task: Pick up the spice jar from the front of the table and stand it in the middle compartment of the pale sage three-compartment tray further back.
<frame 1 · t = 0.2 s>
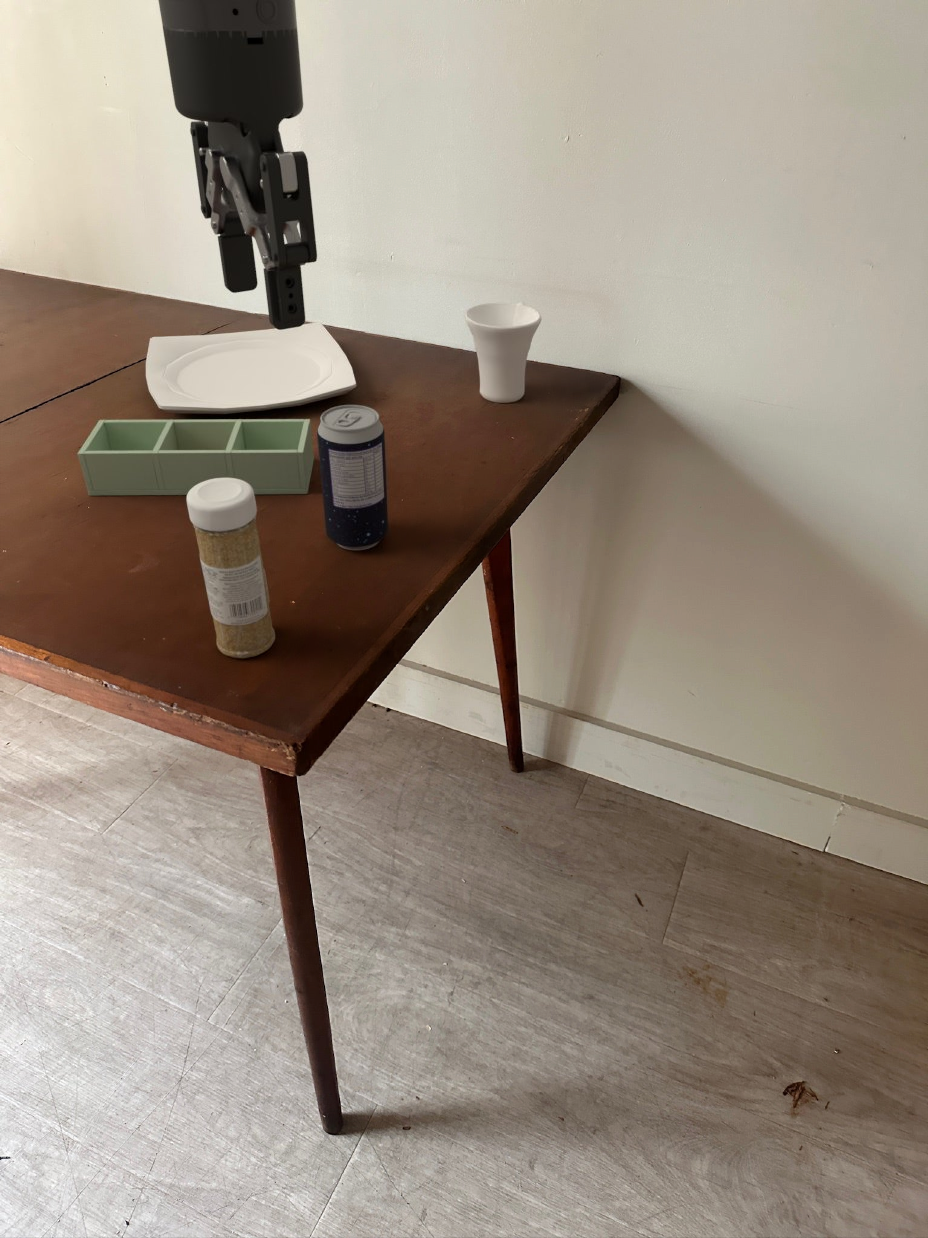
hand: (264, 307, 59), 23 cm above the table, tool pointing down, fingers open, 8 cm apart
spice jar: (246, 644, 68), on the table
plate: (251, 381, 108), on the table
beverage can: (357, 539, 80), on the table
cup: (500, 394, 107), on the table
tray: (206, 476, 88), on the table
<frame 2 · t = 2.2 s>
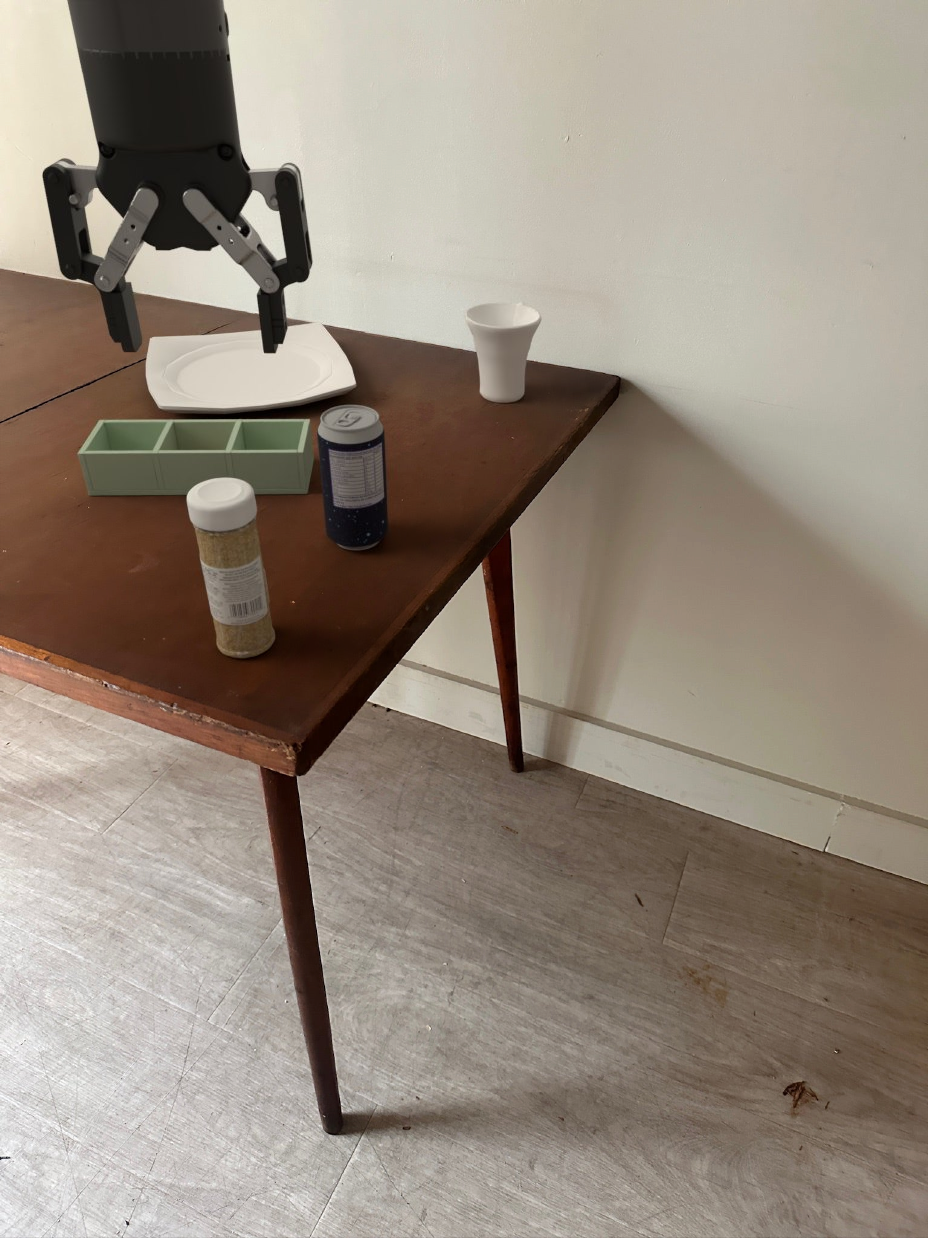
hand: (203, 348, 54), 23 cm above the table, tool pointing down, fingers open, 8 cm apart
nothing on the table moved.
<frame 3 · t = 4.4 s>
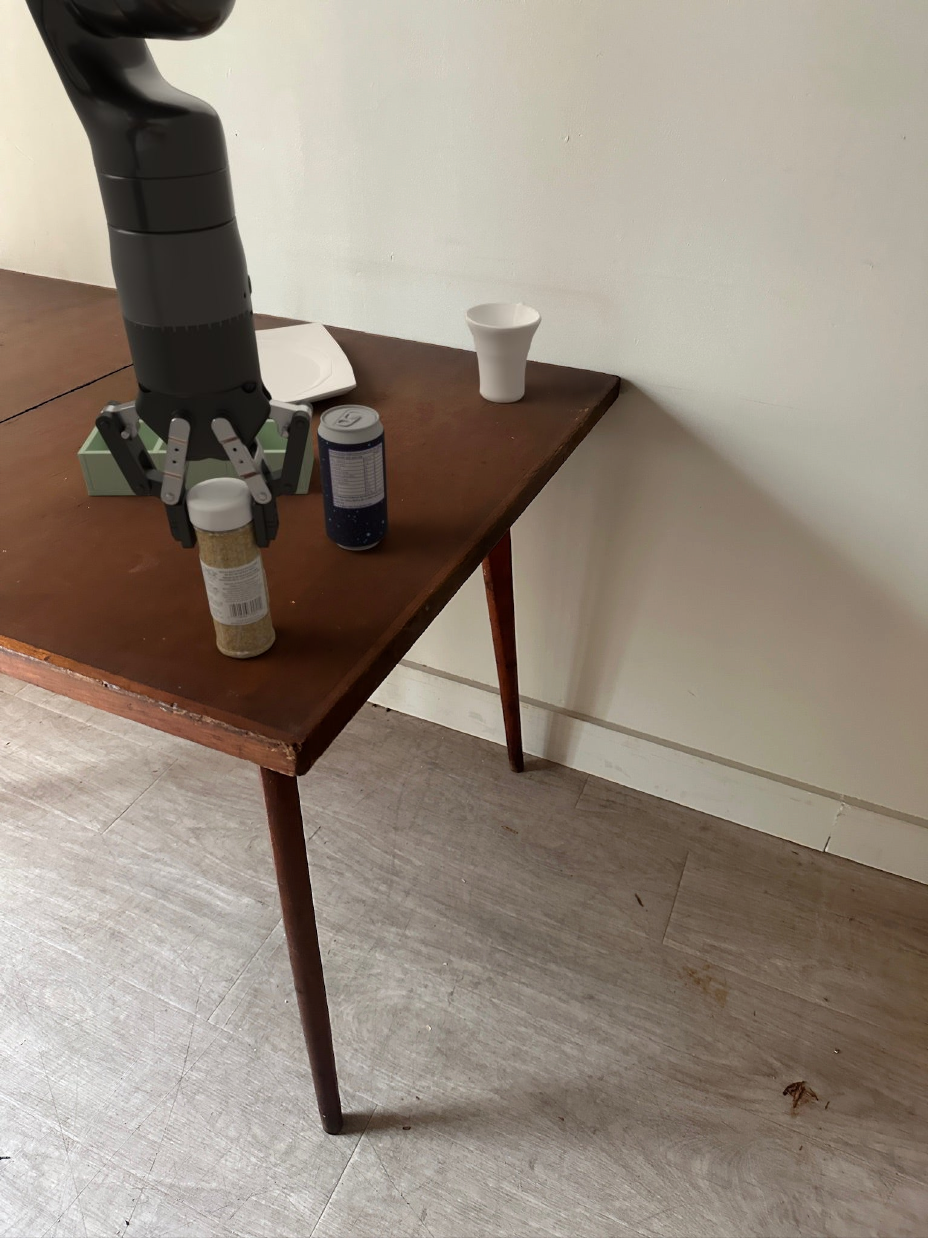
hand: (228, 541, 62), 9 cm above the table, tool pointing down, fingers closed on spice jar, 4 cm apart
spice jar: (246, 644, 68), on the table, touching gripper
everything else where it was.
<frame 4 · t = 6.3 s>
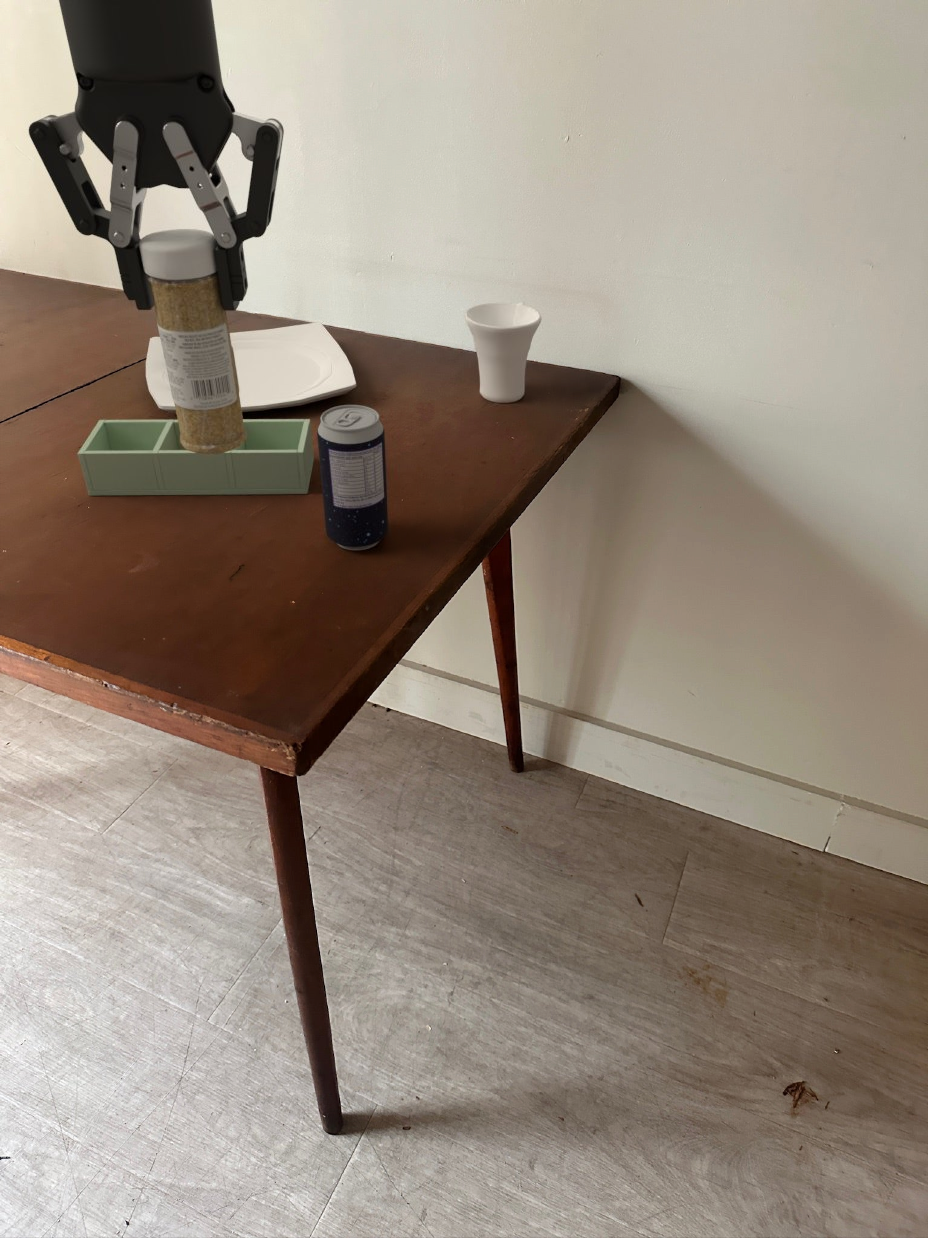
hand: (190, 305, 54), 25 cm above the table, tool pointing down, fingers closed on spice jar, 4 cm apart
spice jar: (214, 444, 60), point 16 cm above the table, touching gripper
everything else where it was.
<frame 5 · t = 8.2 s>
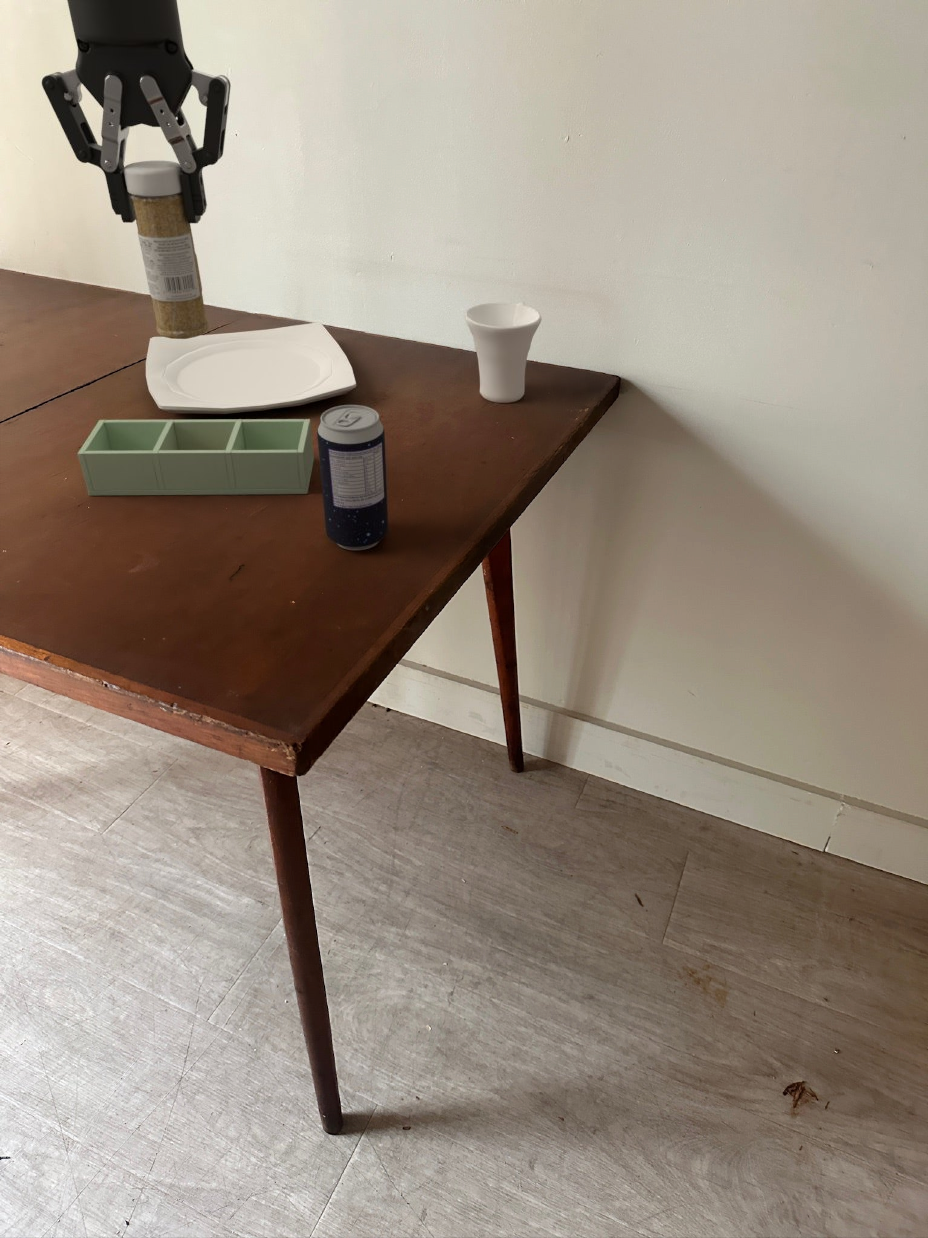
hand: (162, 219, 71), 25 cm above the table, tool pointing down, fingers closed on spice jar, 4 cm apart
spice jar: (183, 334, 77), point 16 cm above the table, touching gripper
everything else where it was.
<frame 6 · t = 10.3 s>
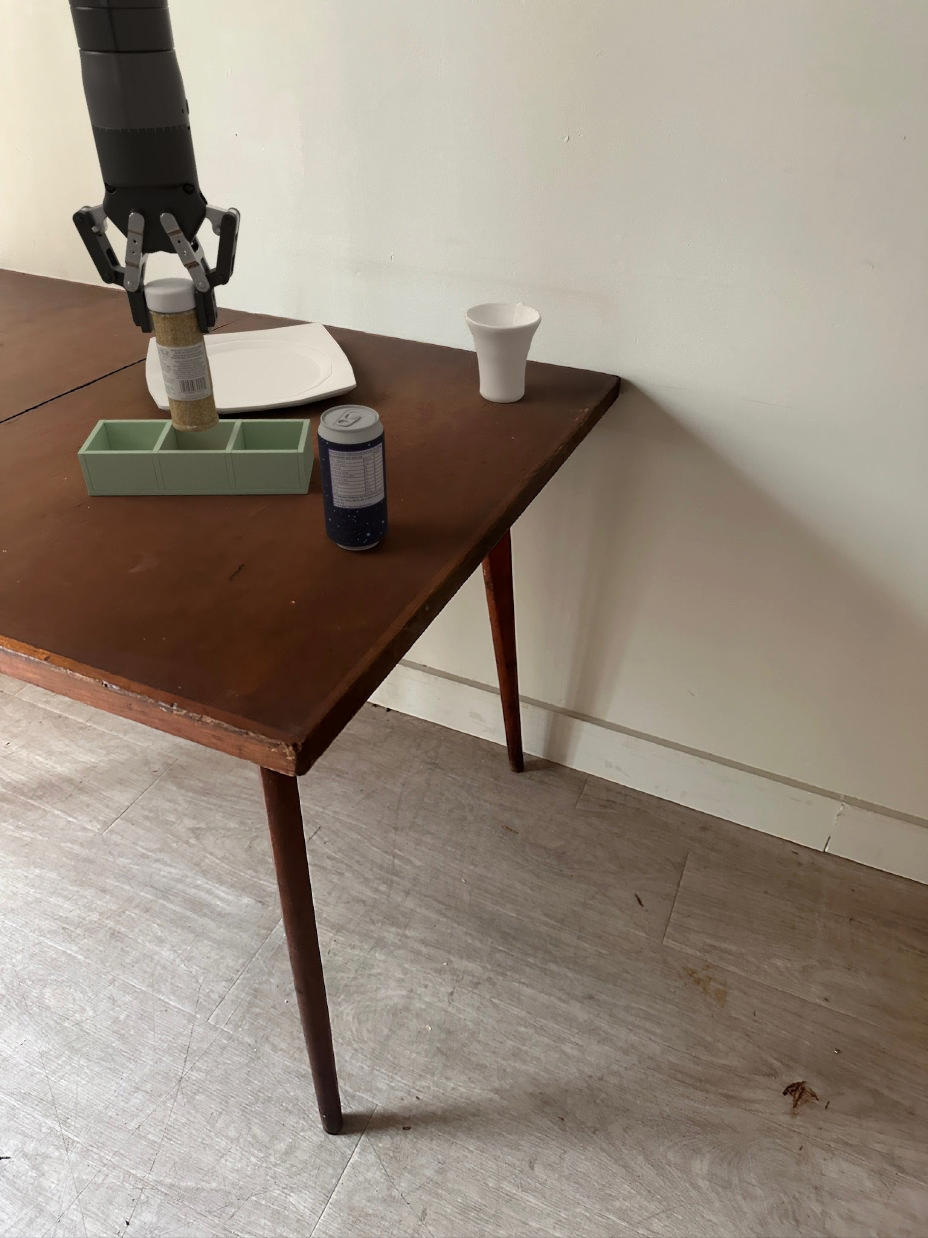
hand: (178, 329, 79), 15 cm above the table, tool pointing down, fingers closed on spice jar, 4 cm apart
spice jar: (195, 426, 85), point 6 cm above the table, touching gripper
everything else where it was.
when the fingers open (10 cm above the table, at t = 12.0 s): spice jar stays where it is, resting on tray.
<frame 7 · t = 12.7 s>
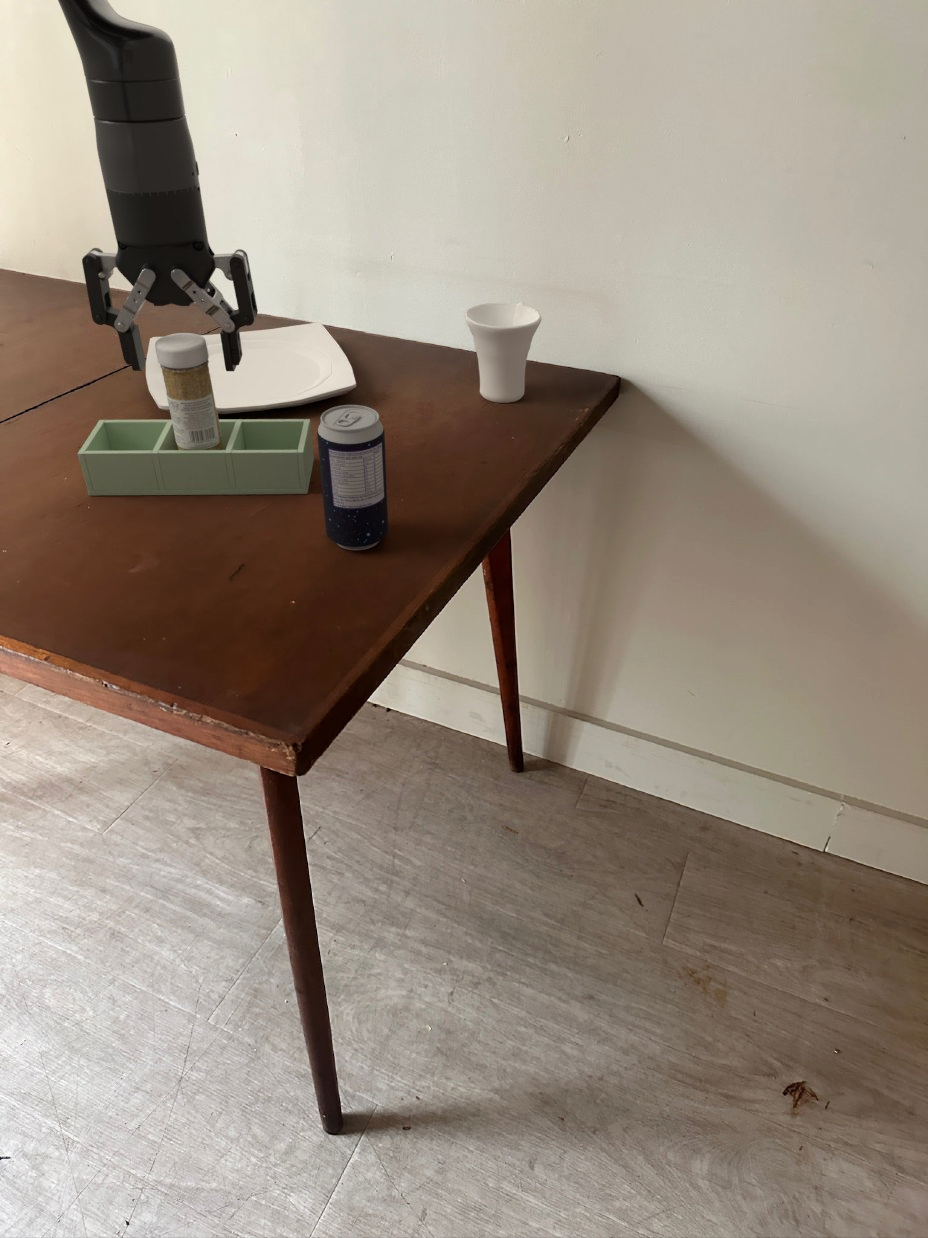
hand: (186, 368, 81), 11 cm above the table, tool pointing down, fingers open, 8 cm apart
spice jar: (204, 472, 88), point 1 cm above the table, touching tray
everything else where it was.
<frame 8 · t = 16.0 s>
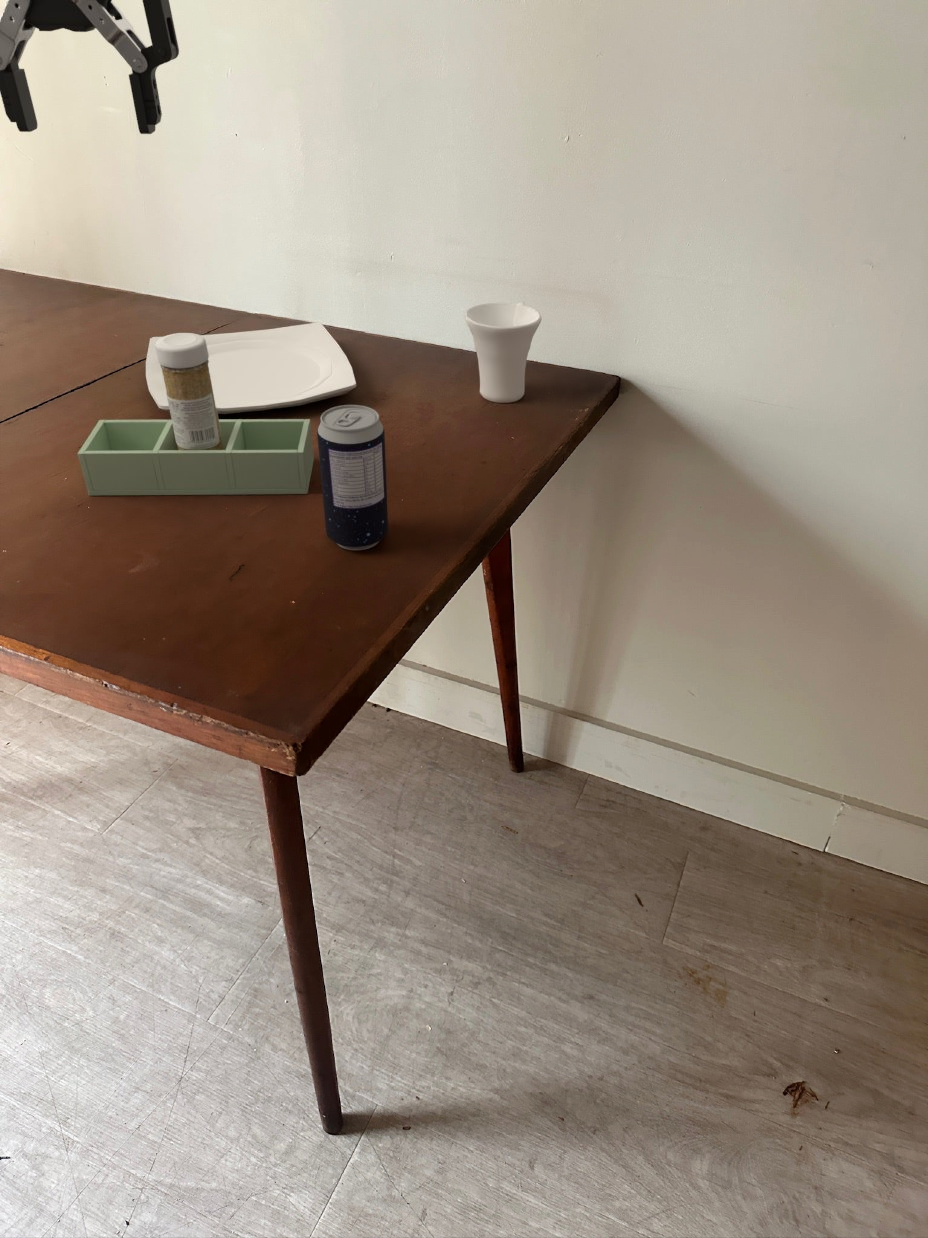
hand: (89, 131, 63), 32 cm above the table, tool pointing down, fingers open, 8 cm apart
nothing on the table moved.
at the end: spice jar 0.1 cm off-centre in the tray, point 0.6 cm above the tray's base; spice jar tilted 0°; the gripper is holding nothing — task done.
